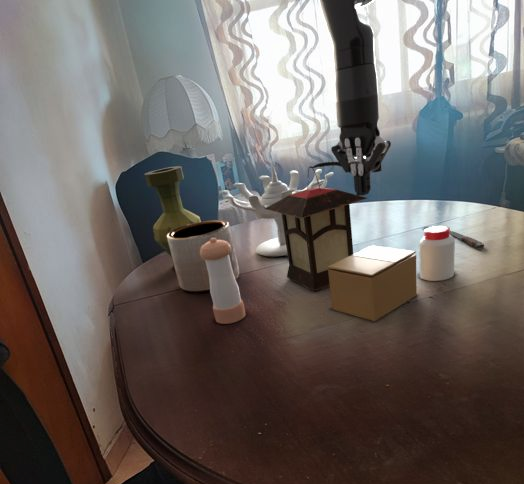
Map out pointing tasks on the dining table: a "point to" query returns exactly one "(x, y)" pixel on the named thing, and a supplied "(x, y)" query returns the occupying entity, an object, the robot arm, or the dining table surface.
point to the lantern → (316, 231)
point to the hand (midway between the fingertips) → (362, 194)
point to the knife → (466, 239)
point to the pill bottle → (436, 254)
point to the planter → (197, 252)
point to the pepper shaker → (222, 282)
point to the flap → (361, 265)
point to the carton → (375, 284)
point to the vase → (169, 204)
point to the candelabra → (272, 195)
